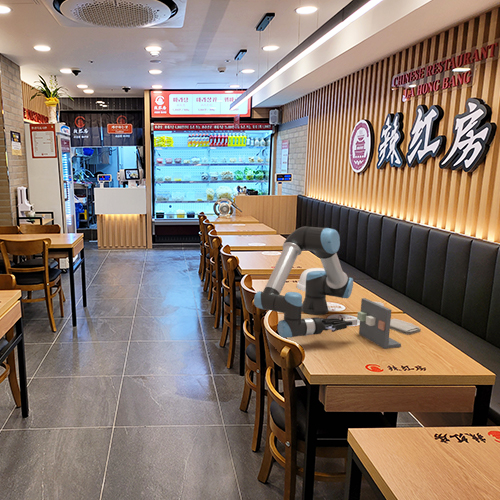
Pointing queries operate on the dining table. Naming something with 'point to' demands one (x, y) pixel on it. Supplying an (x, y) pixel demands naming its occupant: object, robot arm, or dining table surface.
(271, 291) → the robot arm
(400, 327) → the washcloth
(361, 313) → the sage button
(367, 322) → the ivory button
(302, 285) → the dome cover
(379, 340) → the button panel
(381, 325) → the terracotta button
